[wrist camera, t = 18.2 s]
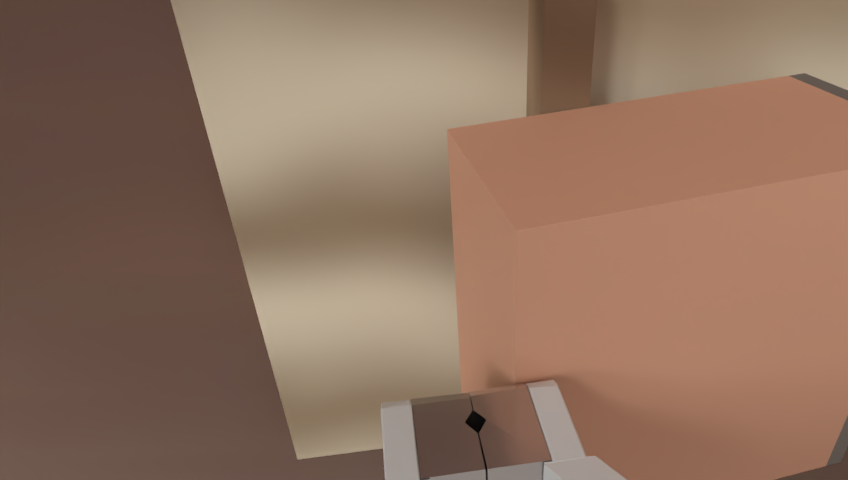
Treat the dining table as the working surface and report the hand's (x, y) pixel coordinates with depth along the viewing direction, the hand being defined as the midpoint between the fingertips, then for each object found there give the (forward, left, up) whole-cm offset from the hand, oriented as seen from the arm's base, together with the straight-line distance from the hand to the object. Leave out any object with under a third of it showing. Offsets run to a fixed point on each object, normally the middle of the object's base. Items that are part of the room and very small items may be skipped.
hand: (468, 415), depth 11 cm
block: (0, +1, -2) cm, 2 cm away
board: (0, +5, -6) cm, 8 cm away
